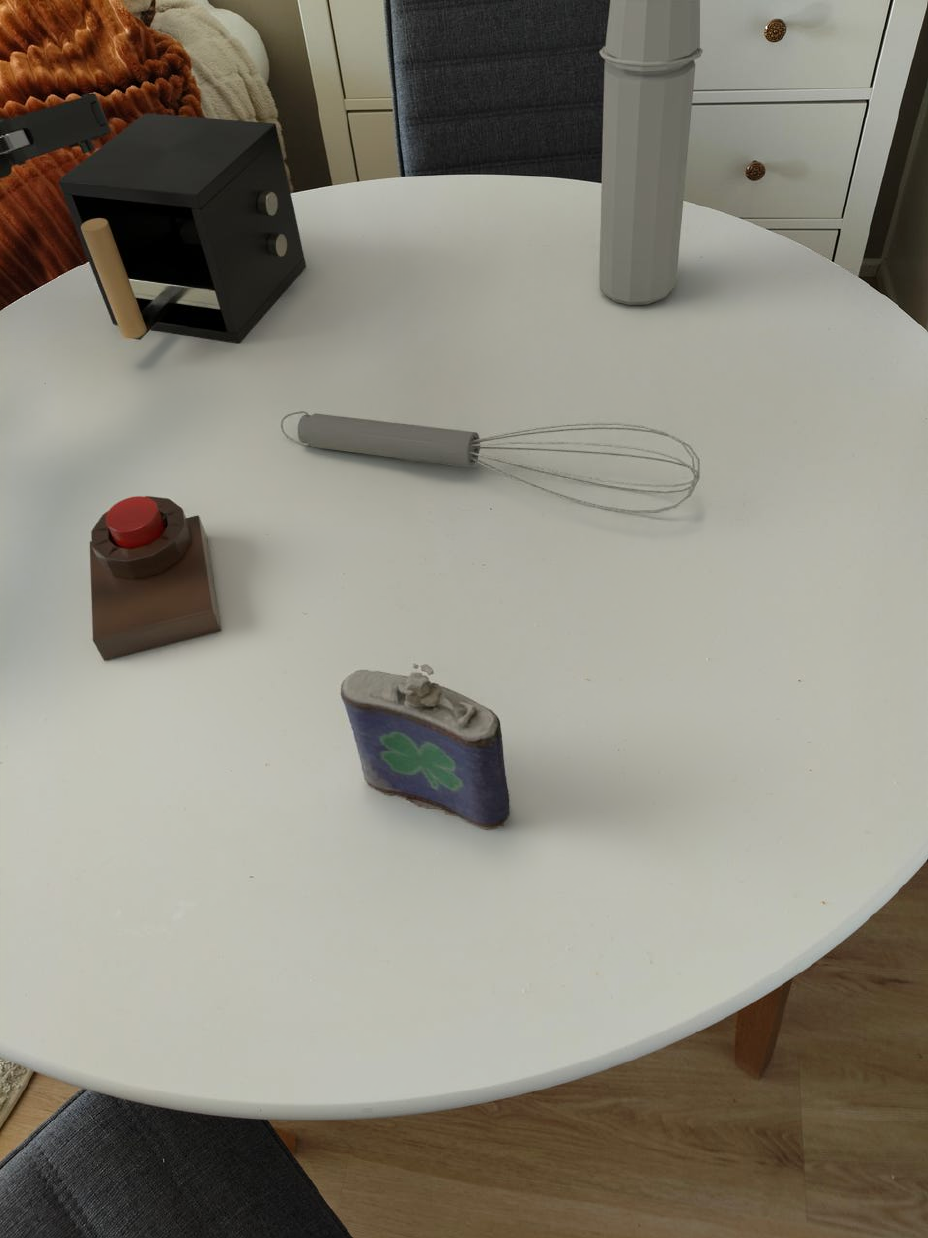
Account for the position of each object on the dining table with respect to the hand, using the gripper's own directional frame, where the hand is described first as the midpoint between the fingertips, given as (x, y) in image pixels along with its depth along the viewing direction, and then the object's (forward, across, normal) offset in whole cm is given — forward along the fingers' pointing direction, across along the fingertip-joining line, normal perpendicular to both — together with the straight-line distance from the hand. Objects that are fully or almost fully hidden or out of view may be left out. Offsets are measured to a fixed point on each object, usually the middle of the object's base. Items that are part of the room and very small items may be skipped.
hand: (10, 146), depth 76 cm
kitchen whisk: (-14, +28, -31) cm, 44 cm away
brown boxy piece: (-23, +4, -29) cm, 37 cm away
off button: (-21, +4, -25) cm, 33 cm away
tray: (+12, +5, -15) cm, 20 cm away
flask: (-41, +22, -38) cm, 60 cm away
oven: (+16, +6, -17) cm, 24 cm away
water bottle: (+10, +46, -27) cm, 54 cm away
